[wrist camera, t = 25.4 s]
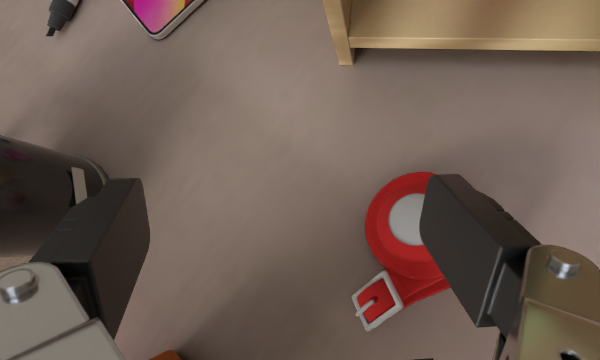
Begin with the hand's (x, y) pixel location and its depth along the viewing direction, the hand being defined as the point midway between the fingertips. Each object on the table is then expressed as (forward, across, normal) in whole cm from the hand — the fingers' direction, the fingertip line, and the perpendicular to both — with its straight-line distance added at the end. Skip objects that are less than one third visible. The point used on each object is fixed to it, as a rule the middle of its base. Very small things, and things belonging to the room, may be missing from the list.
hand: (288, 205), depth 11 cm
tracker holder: (+15, -11, +12) cm, 22 cm away
